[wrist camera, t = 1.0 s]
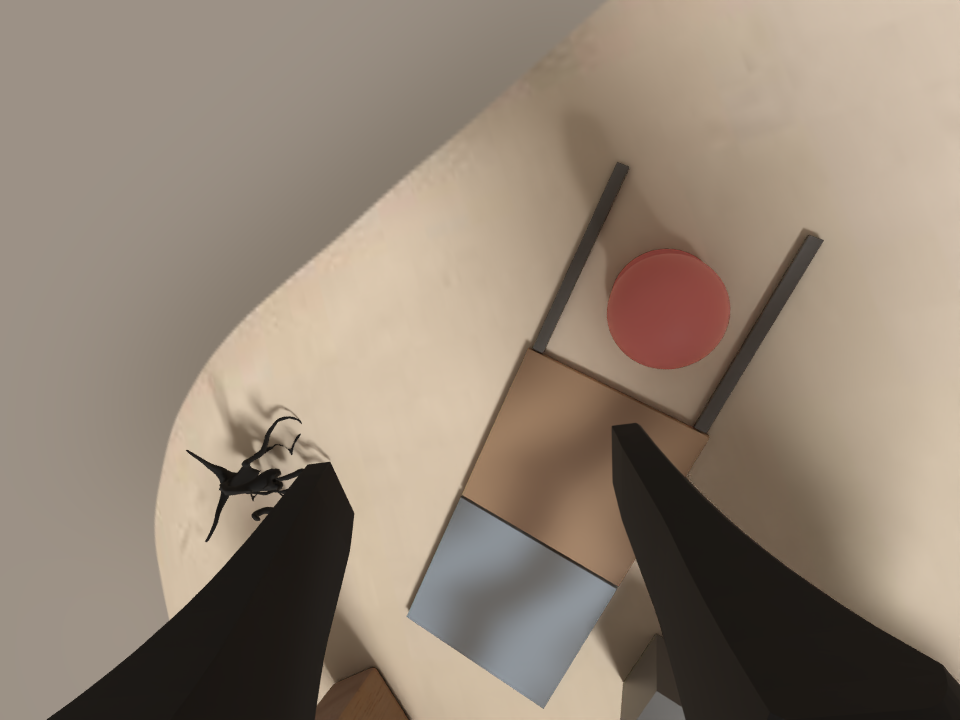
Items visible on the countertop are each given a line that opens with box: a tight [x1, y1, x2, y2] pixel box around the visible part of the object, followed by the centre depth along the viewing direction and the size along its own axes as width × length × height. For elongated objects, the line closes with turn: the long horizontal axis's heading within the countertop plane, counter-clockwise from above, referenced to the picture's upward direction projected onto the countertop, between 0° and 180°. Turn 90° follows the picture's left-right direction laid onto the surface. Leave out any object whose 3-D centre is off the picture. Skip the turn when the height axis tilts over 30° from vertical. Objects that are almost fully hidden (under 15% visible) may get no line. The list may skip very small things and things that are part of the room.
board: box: [407, 162, 824, 709], centre depth 27 cm, size 10×30×1 cm, turn 157°
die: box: [620, 634, 685, 720], centre depth 25 cm, size 4×4×4 cm
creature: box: [186, 417, 304, 542], centre depth 32 cm, size 8×5×8 cm
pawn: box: [607, 249, 730, 369], centre depth 20 cm, size 5×5×10 cm
